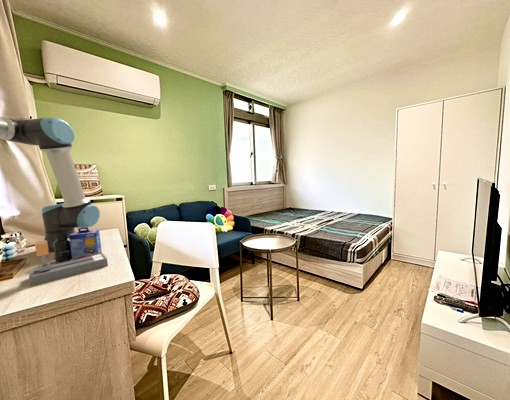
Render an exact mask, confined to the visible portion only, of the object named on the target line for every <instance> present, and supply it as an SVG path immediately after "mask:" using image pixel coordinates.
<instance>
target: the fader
mask: <svg viewBox="0 0 510 400" xmlns="http://www.w3.org/2000/svg"><path fill="white" fill-rule="evenodd" d="M34 246H35V253H36V257H40V260H41V263H40V264H38V268H39V272H41V271H45V270H50V269H51V265H52V264H51V262H47V261H48V260H47V255H49V254H50V253H49V252H50V251H49V250H48V243H47V240H44V239H43V240H40V241H35V244H34Z"/></svg>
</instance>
